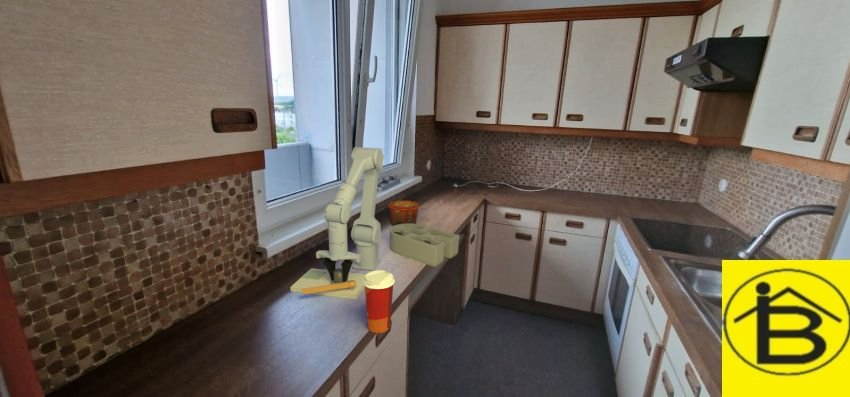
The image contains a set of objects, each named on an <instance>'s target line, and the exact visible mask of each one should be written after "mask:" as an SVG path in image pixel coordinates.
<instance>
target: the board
mask: <svg viewBox="0 0 850 397" xmlns="http://www.w3.org/2000/svg"><path fill="white" fill-rule="evenodd" d="M366 274H367V273H366ZM366 274H365V273H359V272H358V273H357V272H349V274H348V281H350V280H355V281H356V287H354V288H349V287H348V288H341V289H335V290H328V291H322V292H315V293H309V294H308V295H316V296H317V295H318V296H325V297H326V296H327V297H334V298H342V299H348V300H349V299H351V300H357V299H358V298H359V297H360V295H361V294H362V292H363V291H364V290H365V285H364V284H363V280H364V279H365V276H366ZM330 284H331V278H330V275H329V272H328V270H327V269H319V268H313V267H312V268H310V269H308V271H307V272H306V273H305V274H303V275H302V276H301V277H300V278H299V279H298V280H297V281H296V282H295V283H292V285H291V286H290V287H289V288H290V292H293V293H300V294H302V289H303V288H310V287H317V286H323V285H330Z"/></svg>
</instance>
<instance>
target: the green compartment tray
mask: <svg viewBox="0 0 850 397" xmlns="http://www.w3.org/2000/svg"><path fill="white" fill-rule="evenodd" d="M459 240H460V235H459V234H457V233H456V234H455V233H452V232H448V231H445V230H440V229H439V228H438V229H437V228H433V227H431V226H426V225H423V224H418V223H416V224H399V225H395V226H393V225H392V226H391V227H390V228H389V247H390V250H391V252H392V253H394V254H396V255H400V256H402V257H405V258H407V259H411V260H414V261H417V262H419V263H422V264H424V263H425V265H427V266H431V267H433V268H437V267H438V266H440V265H442V264H444V260H445V258H448V259H452V258H454V257H456V256H457V255H458V253H459V242H460V241H459ZM444 257H445V258H444Z"/></svg>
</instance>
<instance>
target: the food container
mask: <svg viewBox="0 0 850 397" xmlns="http://www.w3.org/2000/svg"><path fill="white" fill-rule="evenodd" d="M387 207H388V210H389V218H390V225H392V227H393V226H395V225H399V224H417V218H418V211H419V209H420V204H419V203H418V202H417V201H412V200H402V199H401V200H400V199H399V200H395V201H391V202H389V203H388V205H387Z"/></svg>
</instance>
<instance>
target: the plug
mask: <svg viewBox="0 0 850 397" xmlns="http://www.w3.org/2000/svg"><path fill="white" fill-rule="evenodd" d="M333 273H334V280H331V284H337V283H344V282H343V270H342V267H338V268H335V270H334V271H333ZM346 282H348V279H347V281H346Z"/></svg>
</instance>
